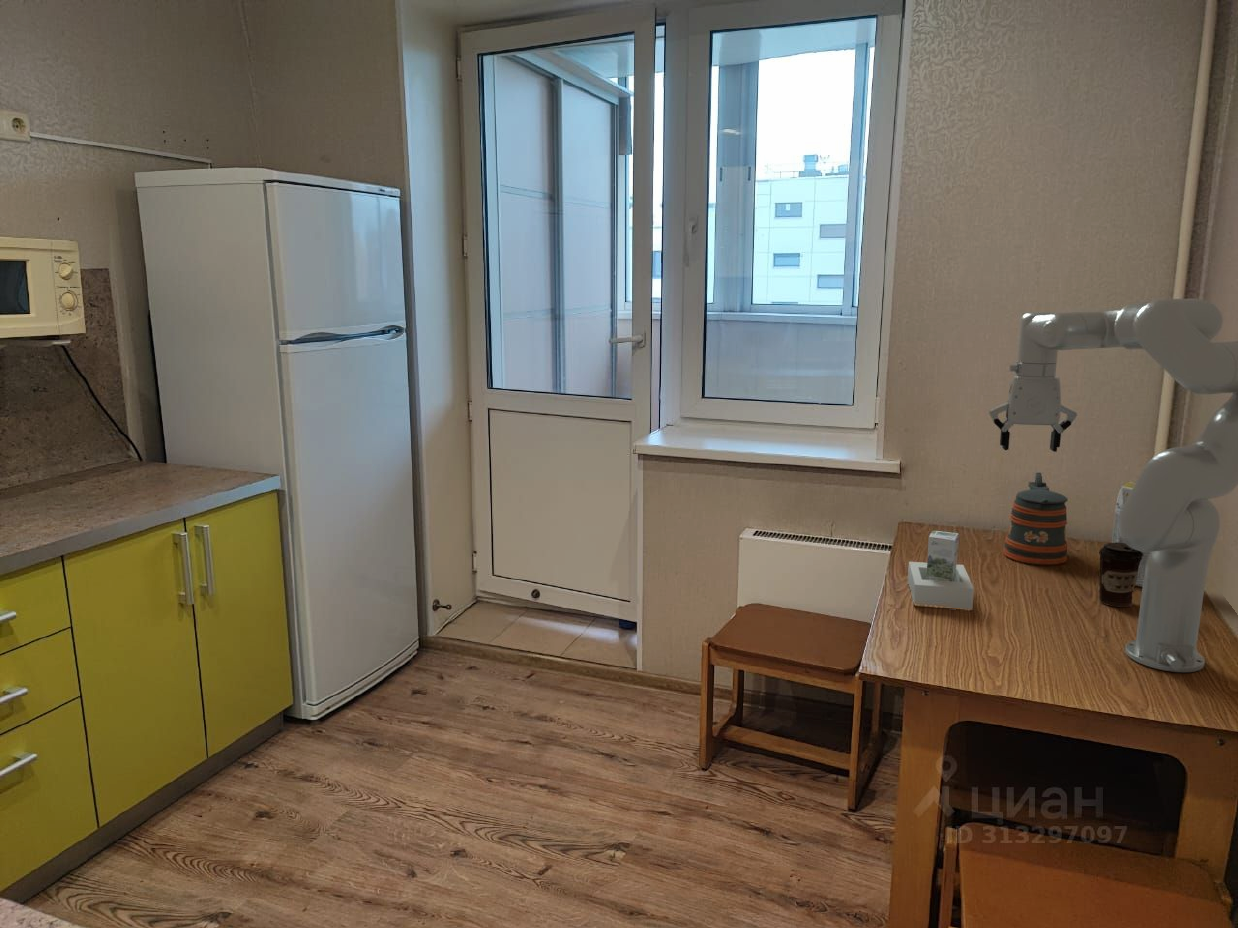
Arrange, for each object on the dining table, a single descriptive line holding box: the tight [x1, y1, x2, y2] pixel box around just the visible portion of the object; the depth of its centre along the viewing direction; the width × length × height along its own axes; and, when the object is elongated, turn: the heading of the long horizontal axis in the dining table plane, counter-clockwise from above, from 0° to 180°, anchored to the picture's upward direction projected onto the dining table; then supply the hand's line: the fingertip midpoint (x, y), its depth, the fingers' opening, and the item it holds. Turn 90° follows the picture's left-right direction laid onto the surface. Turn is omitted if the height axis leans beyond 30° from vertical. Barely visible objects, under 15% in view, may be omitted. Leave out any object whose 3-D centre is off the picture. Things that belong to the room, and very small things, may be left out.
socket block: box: [907, 561, 975, 610], centre depth 195 cm, size 16×12×6 cm
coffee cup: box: [1098, 542, 1143, 608], centre depth 189 cm, size 9×8×13 cm
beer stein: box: [1002, 472, 1069, 566], centre depth 222 cm, size 19×15×20 cm
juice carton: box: [1111, 481, 1149, 587], centre depth 201 cm, size 9×8×24 cm
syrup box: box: [926, 530, 960, 582], centre depth 194 cm, size 6×6×14 cm
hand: (1029, 449), depth 189 cm, fingers open, 9 cm apart
